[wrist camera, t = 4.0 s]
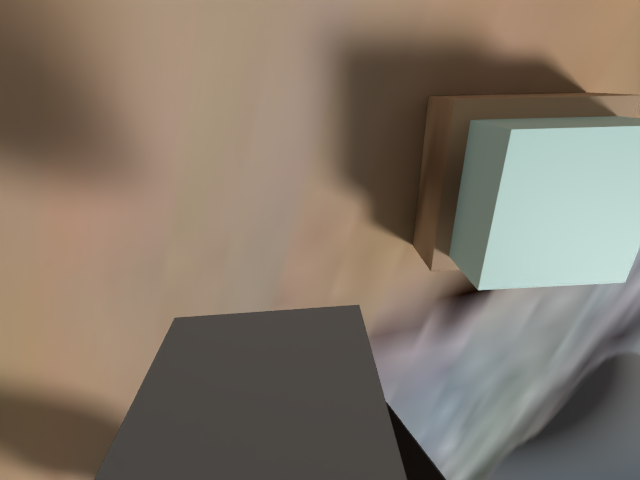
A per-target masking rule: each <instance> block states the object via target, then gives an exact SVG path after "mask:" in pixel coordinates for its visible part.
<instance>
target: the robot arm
mask: <svg viewBox="0 0 640 480" xmlns="http://www.w3.org/2000/svg"><path fill="white" fill-rule="evenodd" d="M386 405H387V408H388V412H389V416H390V419H391V423H392V427H393V430H394V434H395V438H396V441H397V445H398V448H399V452H400V456H401V459H402V463H403V467H404V470H405V474H406V478H407V480H446V479H445V477H444V476H443V475H442V474H441V472H440V471H439V470H438V468H437V467H436V466H435V464H434V463H433V462H432V461H431V459H430V458H429V457H428V455H427V454H426V453H425V451H424V450H423V449H422V448H421V446H420V445H419V444H418V442H417V441H416V440H415V438H414V437H413V436H412V435H411V433H410V432H409V431H408V429H407V428H406V427H405V425H404V424H403V423H402V422H401V420H400V419H399V418H398V416H397V415H396V414H395V412H394V411H393V410H392V409H391V407H390V406H389V405H388V403H387V402H386Z"/></svg>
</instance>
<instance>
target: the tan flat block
mask: <svg viewBox="0 0 640 480" xmlns="http://www.w3.org/2000/svg"><path fill="white" fill-rule="evenodd" d="M639 104H640V95H628V94H607V93H546V94H501V95H456V96H429V97H428V107H427V116H426V126H425V135H424V144H423V154H422V163H421V172H420V182H419V191H418V200H417V210H416V219H415V228H414V238H413V246H414V248H415V249H416V251H417V252H418V254H419V255H420V256H421V258H422V259H423V261H424V262H425V263H426V265H427V266H428V268H429V269H430V271H449V270H460V269H459V268H458V266H457V265H456V264H455V263H454V262H453V261H452V259H451V258H450V257H449V253H450V247H451V240H452V234H453V228H454V221H455V215H456V209H457V202H458V196H459V190H460V183H461V177H462V171H463V165H464V158H465V152H466V146H467V139H468V133H469V127H470V120H485V119H524V118H562V117H600V116H622V117H630V118H635V116H636V113H637V110H638V107H639Z"/></svg>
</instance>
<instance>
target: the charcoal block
mask: <svg viewBox="0 0 640 480" xmlns="http://www.w3.org/2000/svg"><path fill="white" fill-rule="evenodd" d="M94 480H407V478H406V474H405V470H404V467H403V463H402V459H401V456H400V452H399V448H398V445H397V441H396V438H395V434H394V430H393V427H392V423H391V419H390V416H389V412H388V408H387V405H386V401H385V398H384V394H383V390H382V387H381V383H380V379H379V376H378V372H377V368H376V365H375V361H374V358H373V354H372V350H371V347H370V343H369V339H368V336H367V332H366V328H365V325H364V321H363V318H362V314H361V310H360V307H359V305H351V306H336V307H322V308H308V309H294V310H279V311H265V312H251V313H237V314H222V315H208V316H194V317H180V318H174V320H173V322H172V324H171V326H170V328H169V330H168V332H167V334H166V336H165V338H164V340H163V342H162V344H161V346H160V348H159V350H158V352H157V354H156V357H155V359H154V361H153V363H152V365H151V367H150V369H149V371H148V373H147V375H146V377H145V379H144V381H143V383H142V385H141V387H140V389H139V391H138V393H137V395H136V397H135V399H134V401H133V403H132V405H131V407H130V409H129V411H128V413H127V415H126V417H125V419H124V421H123V423H122V425H121V427H120V429H119V431H118V433H117V435H116V437H115V439H114V441H113V443H112V445H111V447H110V449H109V451H108V453H107V455H106V457H105V459H104V461H103V463H102V465H101V467H100V469H99V471H98V473H97V475H96V477H95V479H94Z"/></svg>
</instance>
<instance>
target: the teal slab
mask: <svg viewBox="0 0 640 480" xmlns="http://www.w3.org/2000/svg"><path fill="white" fill-rule="evenodd" d="M639 248H640V119H639V118H630V117H622V116H600V117H562V118H524V119H485V120H470V127H469V133H468V139H467V146H466V152H465V158H464V165H463V171H462V177H461V183H460V190H459V196H458V202H457V209H456V215H455V221H454V228H453V234H452V240H451V247H450V253H449V257H450V258H451V259H452V261H453V262H454V263H455V264H456V265H457V266H458V268H459V269H460V270H461V271H462V272H463V273H464V275H465V276H466V277H467V278H468V279H469V280H470V281H471V283H472V284H473V285H474V286H475V287H476V288H477V290H490V289H510V288H529V287H548V286H567V285H586V284H605V283H625V281H626V279H627V276H628V274H629V272H630V269H631V267H632V264H633V262H634V260H635V257H636V255H637V252H638V250H639Z"/></svg>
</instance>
